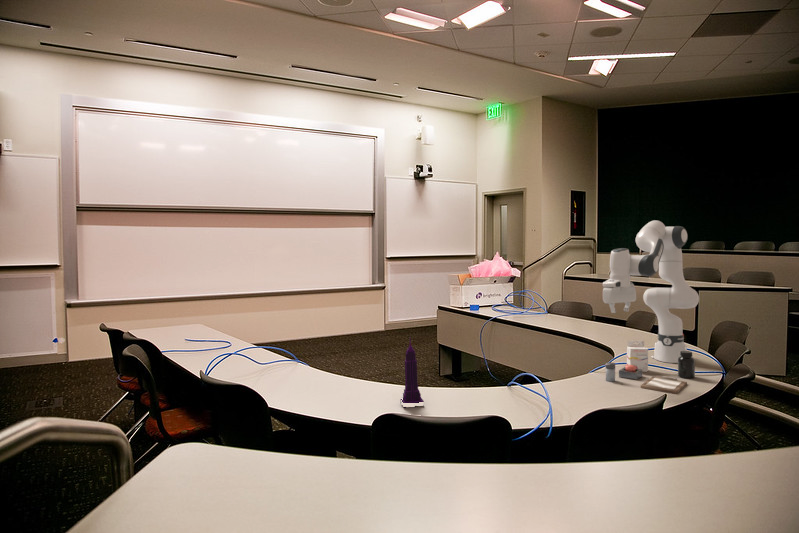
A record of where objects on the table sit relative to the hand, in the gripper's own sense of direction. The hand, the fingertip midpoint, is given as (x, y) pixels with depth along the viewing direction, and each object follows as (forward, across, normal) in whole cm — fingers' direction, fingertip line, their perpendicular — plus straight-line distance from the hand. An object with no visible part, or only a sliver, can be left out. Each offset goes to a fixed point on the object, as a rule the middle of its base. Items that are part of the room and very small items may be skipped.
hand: (619, 312), depth 222 cm
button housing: (+31, -8, 0) cm, 32 cm away
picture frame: (+32, -6, +17) cm, 37 cm away
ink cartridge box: (+31, -20, -4) cm, 37 cm away
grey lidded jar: (+32, +5, -1) cm, 32 cm away
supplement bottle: (+31, -28, +15) cm, 44 cm away
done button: (+29, -8, 0) cm, 30 cm away
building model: (+35, +99, -26) cm, 108 cm away
